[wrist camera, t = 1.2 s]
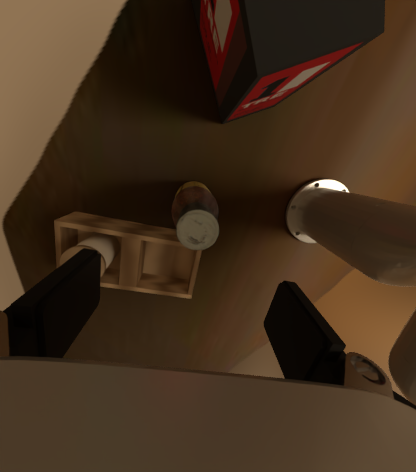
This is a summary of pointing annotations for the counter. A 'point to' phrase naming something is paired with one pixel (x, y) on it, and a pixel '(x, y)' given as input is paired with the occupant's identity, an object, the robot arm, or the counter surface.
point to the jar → (96, 248)
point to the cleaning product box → (278, 46)
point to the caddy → (135, 254)
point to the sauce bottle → (195, 216)
